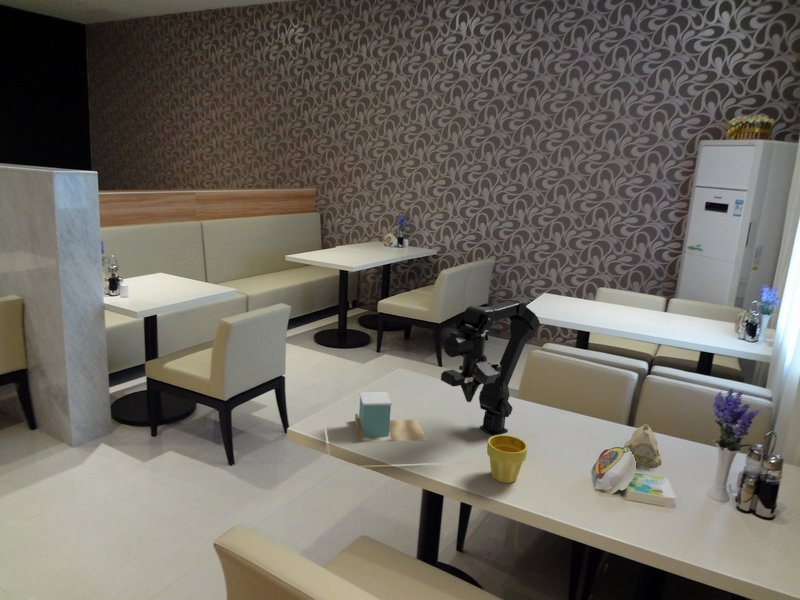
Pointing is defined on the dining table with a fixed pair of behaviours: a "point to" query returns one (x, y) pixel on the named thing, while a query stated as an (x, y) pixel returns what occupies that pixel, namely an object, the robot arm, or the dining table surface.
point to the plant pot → (506, 457)
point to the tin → (375, 413)
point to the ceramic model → (644, 447)
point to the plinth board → (395, 431)
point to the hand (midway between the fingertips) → (468, 401)
